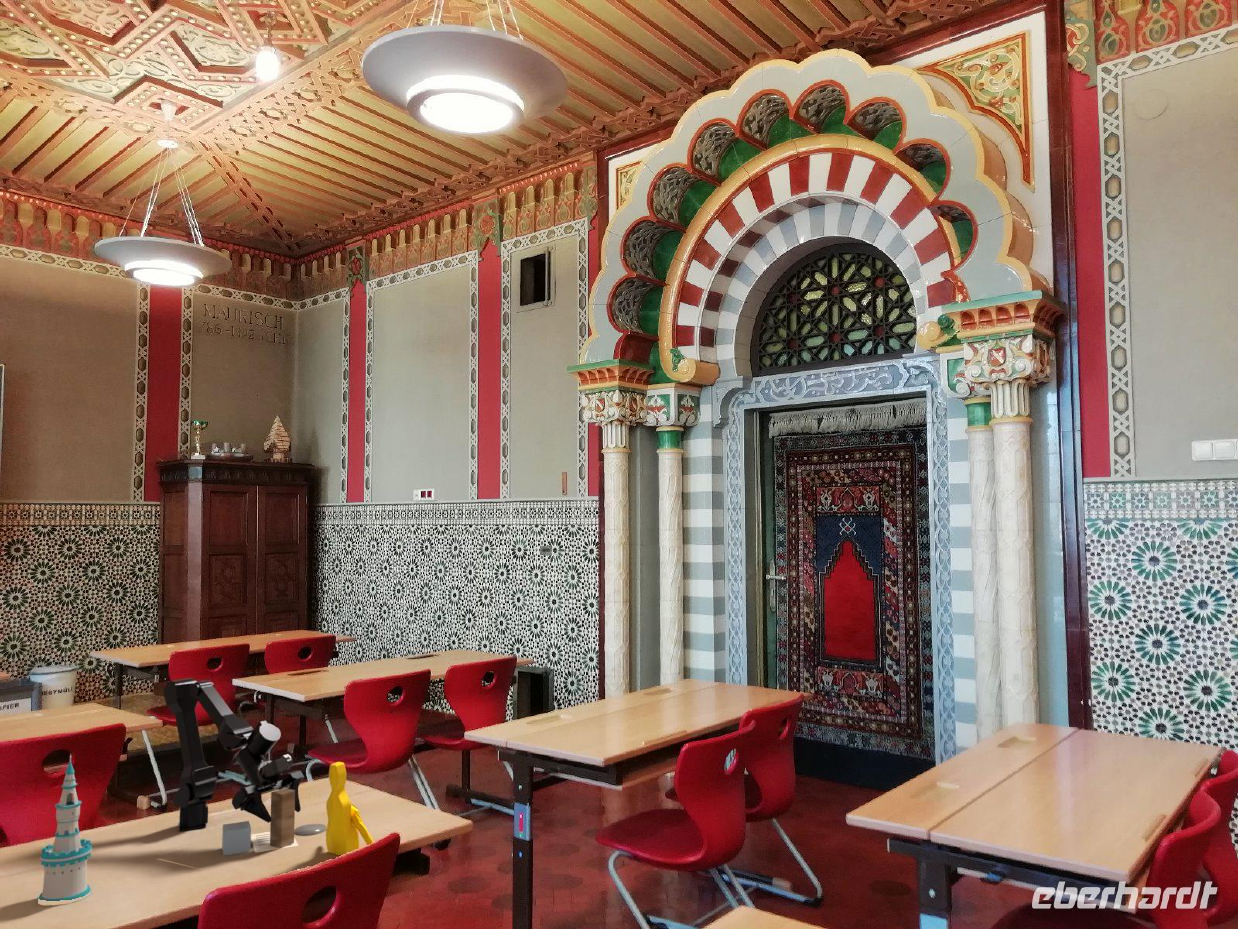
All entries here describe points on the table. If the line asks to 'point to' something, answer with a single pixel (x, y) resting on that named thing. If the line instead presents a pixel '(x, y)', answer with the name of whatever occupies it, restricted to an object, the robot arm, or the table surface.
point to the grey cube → (236, 838)
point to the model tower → (66, 849)
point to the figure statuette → (342, 816)
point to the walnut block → (282, 818)
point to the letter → (265, 842)
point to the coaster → (310, 829)
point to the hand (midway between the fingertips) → (285, 816)
